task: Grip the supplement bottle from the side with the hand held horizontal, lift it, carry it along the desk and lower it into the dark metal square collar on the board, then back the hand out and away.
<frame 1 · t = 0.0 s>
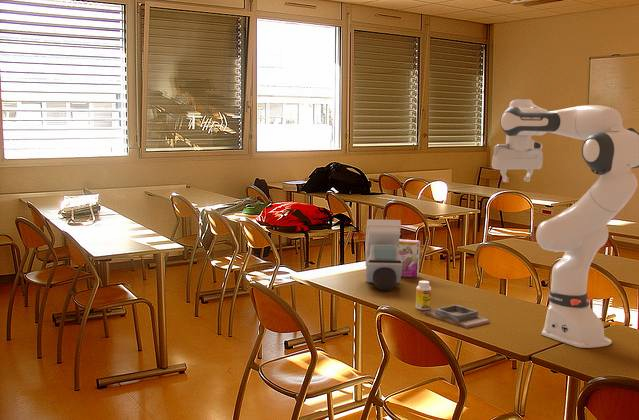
hand: (516, 181, 250), 48 cm above the table, tool pointing down, fingers open, 8 cm apart
candy bar box: (405, 276, 307), on the table
cup holder board: (456, 318, 243), on the table
supplement bottle: (423, 308, 255), on the table
robot: (382, 285, 291), on the table
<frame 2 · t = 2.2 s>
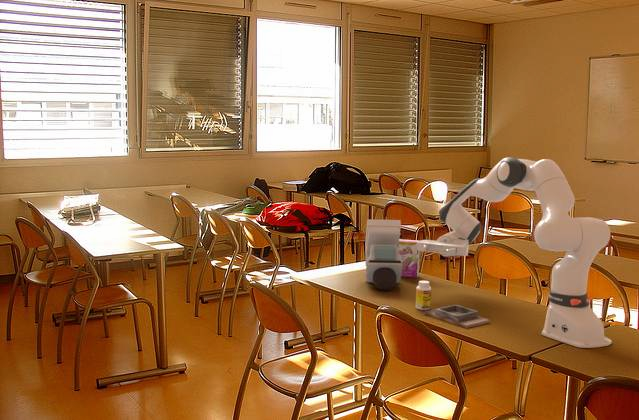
hand: (436, 250, 263), 20 cm above the table, tool horizontal, fingers open, 8 cm apart
nothing on the table moved.
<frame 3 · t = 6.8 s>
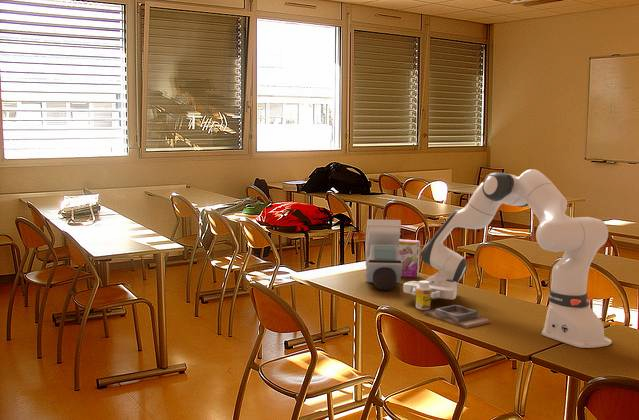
hand: (422, 294, 253), 6 cm above the table, tool horizontal, fingers closed on supplement bottle, 5 cm apart
supplement bottle: (423, 308, 255), on the table, touching gripper
everything else where it was.
when the fingers open (7 cm above the table, at t = 11.9 s): supplement bottle stays where it is, resting on cup holder board.
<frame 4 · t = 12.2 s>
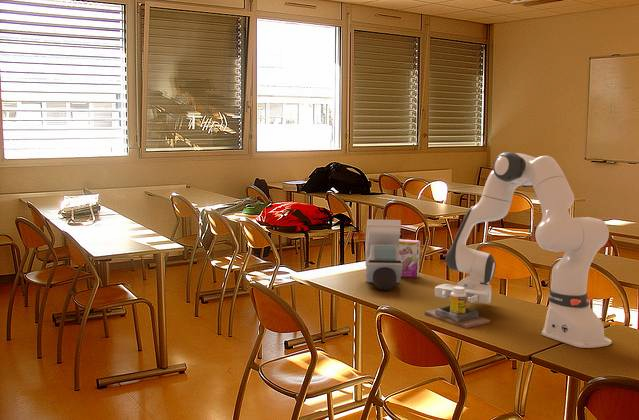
hand: (456, 298, 241), 7 cm above the table, tool horizontal, fingers open, 8 cm apart
supplement bottle: (457, 316, 242), point 1 cm above the table, touching cup holder board
everything else where it was.
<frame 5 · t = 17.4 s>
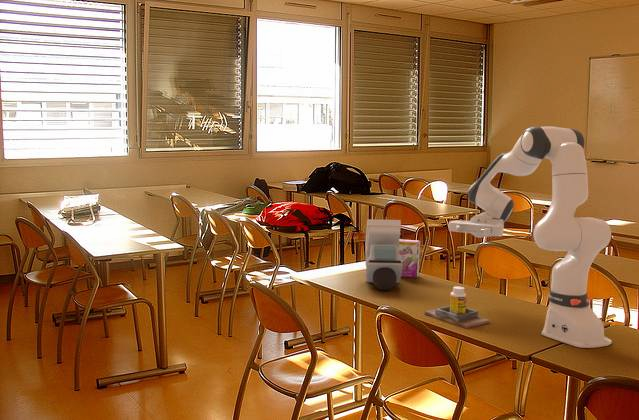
hand: (470, 230, 249), 30 cm above the table, tool horizontal, fingers open, 8 cm apart
nothing on the table moved.
at the end: supplement bottle 0.3 cm from the cup holder board (horizontally); supplement bottle point 0.8 cm above the table; supplement bottle tilted 0° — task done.
